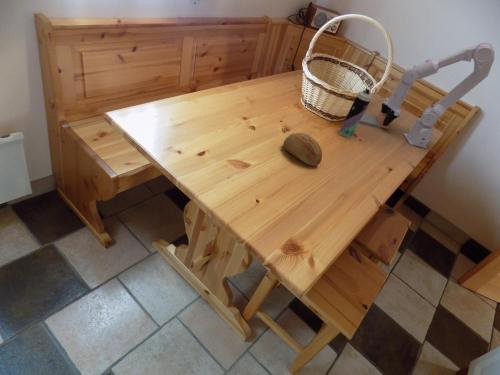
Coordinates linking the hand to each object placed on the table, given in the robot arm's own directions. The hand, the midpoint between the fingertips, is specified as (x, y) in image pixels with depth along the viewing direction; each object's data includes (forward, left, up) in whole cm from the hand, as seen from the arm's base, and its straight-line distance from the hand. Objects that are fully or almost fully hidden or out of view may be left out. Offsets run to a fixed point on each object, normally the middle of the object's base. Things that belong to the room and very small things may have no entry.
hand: (382, 122), depth 149 cm
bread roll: (-43, +45, -2) cm, 63 cm away
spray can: (-18, +22, -2) cm, 29 cm away
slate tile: (+1, +8, -1) cm, 8 cm away
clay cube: (0, 0, -2) cm, 2 cm away
